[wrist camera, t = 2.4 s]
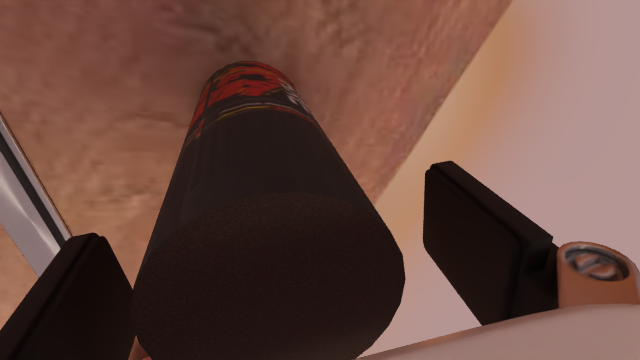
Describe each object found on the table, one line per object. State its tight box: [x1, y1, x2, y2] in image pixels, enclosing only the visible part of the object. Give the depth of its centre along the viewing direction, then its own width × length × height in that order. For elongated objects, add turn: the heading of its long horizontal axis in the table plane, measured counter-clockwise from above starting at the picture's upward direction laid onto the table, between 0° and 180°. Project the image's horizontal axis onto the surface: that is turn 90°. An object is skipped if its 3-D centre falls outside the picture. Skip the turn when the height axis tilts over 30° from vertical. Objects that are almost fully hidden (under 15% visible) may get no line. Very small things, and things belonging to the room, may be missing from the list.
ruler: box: [0, 114, 72, 277], centre depth 21 cm, size 22×3×1 cm, turn 7°
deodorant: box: [131, 61, 405, 360], centre depth 14 cm, size 6×6×15 cm
